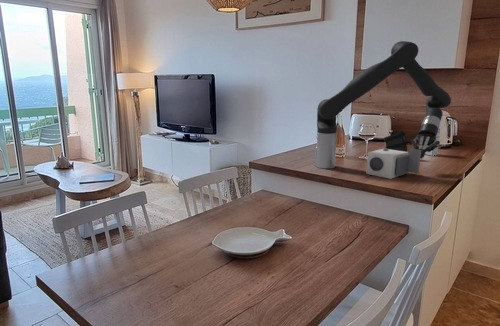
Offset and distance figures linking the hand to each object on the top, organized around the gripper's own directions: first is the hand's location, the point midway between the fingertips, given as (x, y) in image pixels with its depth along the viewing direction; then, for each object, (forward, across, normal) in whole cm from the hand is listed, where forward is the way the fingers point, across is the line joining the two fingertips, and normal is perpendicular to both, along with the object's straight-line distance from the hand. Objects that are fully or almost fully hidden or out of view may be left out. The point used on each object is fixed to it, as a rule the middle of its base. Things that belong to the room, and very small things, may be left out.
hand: (419, 157), depth 156 cm
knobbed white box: (+11, -12, 0) cm, 16 cm away
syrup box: (-30, -6, +41) cm, 52 cm away
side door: (+11, -3, -1) cm, 11 cm away
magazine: (-16, -20, +27) cm, 38 cm away
